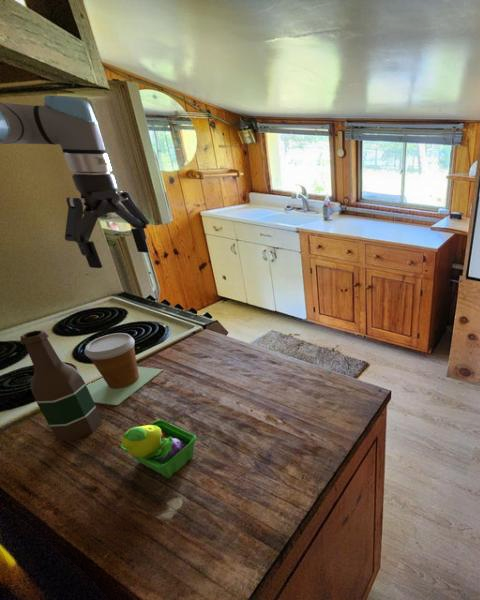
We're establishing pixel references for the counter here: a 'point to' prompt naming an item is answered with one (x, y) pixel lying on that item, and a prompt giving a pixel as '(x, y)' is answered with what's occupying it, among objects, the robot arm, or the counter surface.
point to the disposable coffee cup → (114, 359)
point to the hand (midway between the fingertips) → (121, 259)
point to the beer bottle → (60, 391)
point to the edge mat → (116, 396)
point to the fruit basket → (160, 446)
